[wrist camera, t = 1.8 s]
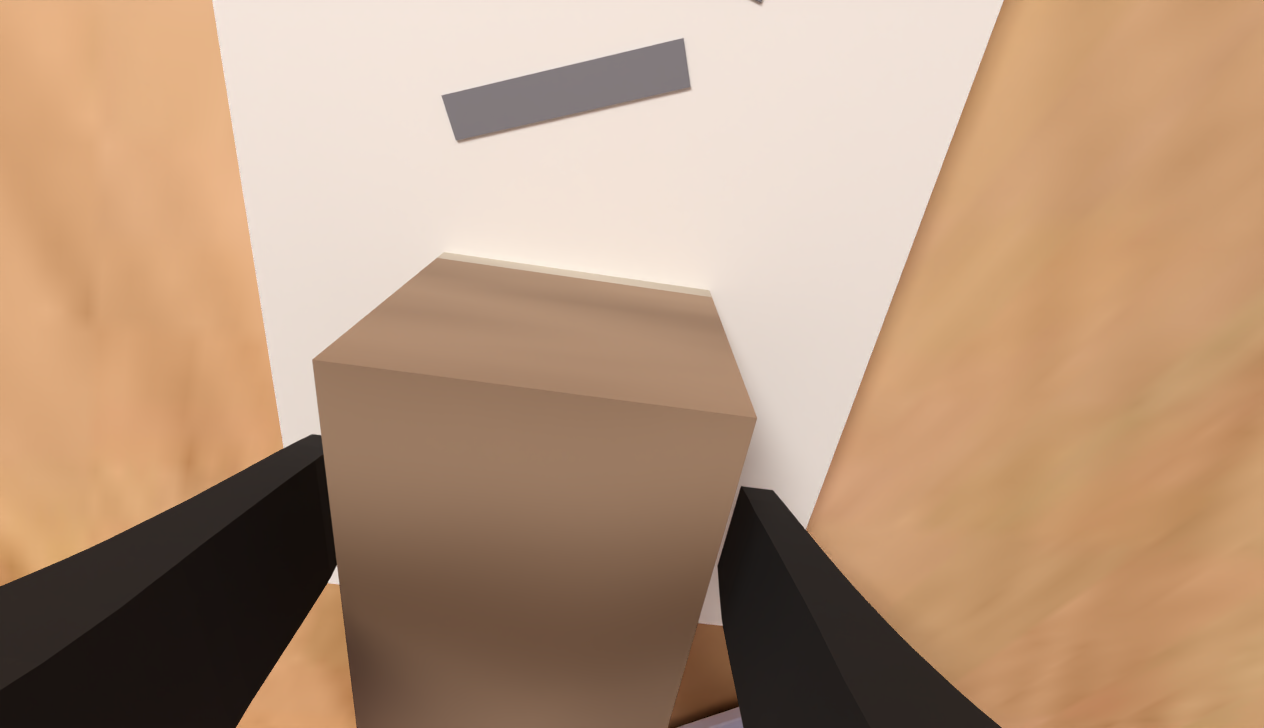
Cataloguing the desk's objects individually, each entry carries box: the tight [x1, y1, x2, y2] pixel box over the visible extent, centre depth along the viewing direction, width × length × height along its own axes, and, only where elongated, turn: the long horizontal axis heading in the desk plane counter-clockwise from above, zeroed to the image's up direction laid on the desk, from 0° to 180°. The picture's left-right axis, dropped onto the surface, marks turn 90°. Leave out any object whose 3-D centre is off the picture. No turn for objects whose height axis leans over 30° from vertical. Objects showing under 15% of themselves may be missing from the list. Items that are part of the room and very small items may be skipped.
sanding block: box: [312, 252, 757, 728], centre depth 10 cm, size 8×5×5 cm, turn 172°
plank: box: [212, 0, 1004, 626], centre depth 9 cm, size 26×12×1 cm, turn 172°
